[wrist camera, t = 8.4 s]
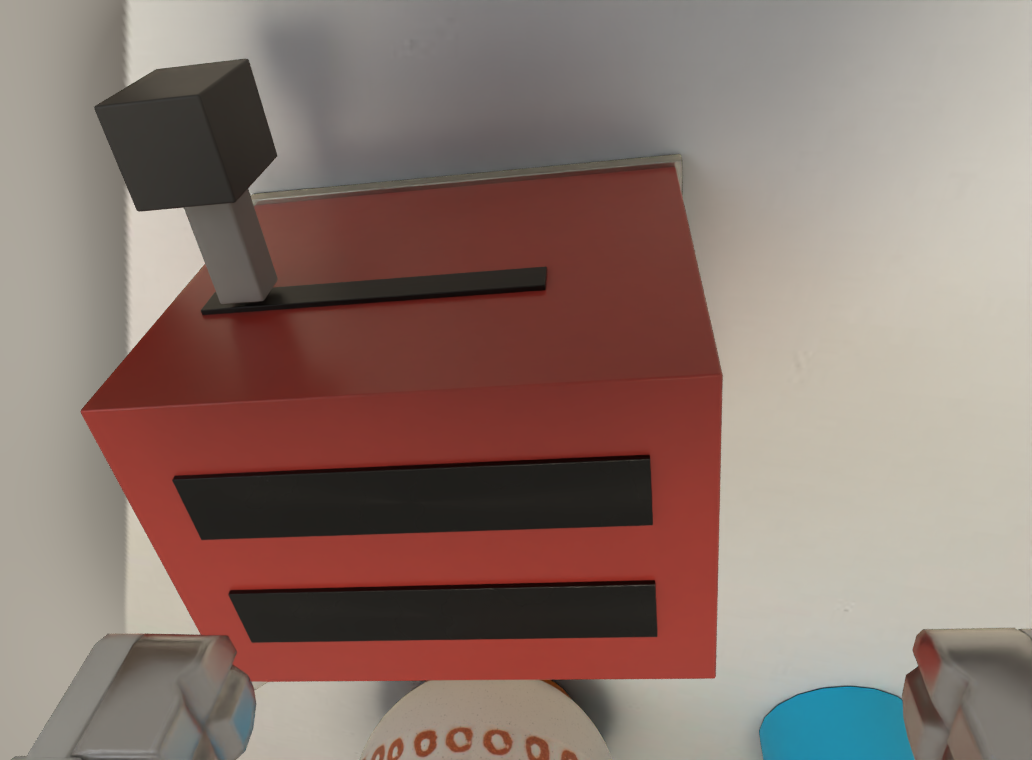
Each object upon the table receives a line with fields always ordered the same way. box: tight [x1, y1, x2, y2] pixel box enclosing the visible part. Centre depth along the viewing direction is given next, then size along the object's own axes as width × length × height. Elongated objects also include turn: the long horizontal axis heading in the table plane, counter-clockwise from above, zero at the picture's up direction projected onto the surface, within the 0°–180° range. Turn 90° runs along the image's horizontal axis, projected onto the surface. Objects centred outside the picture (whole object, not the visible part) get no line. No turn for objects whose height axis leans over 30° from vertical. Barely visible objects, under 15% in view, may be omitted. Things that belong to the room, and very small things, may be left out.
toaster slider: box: [95, 59, 278, 304], centre depth 20 cm, size 5×2×3 cm, turn 7°
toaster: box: [81, 154, 723, 682], centre depth 25 cm, size 10×14×12 cm
